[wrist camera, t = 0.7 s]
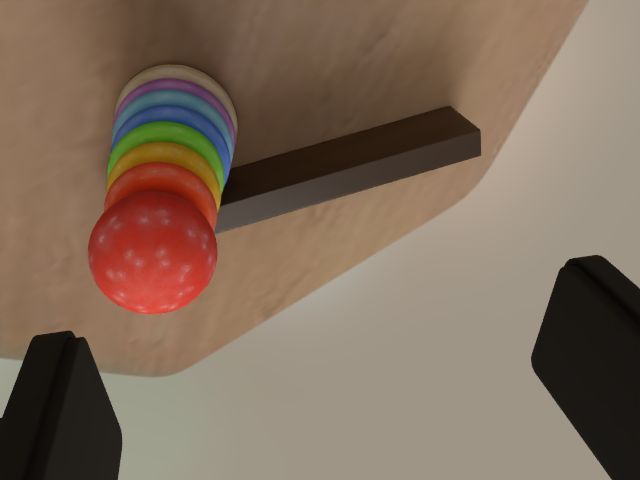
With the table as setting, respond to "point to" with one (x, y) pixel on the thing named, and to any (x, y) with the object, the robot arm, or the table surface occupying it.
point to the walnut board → (346, 166)
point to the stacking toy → (163, 189)
